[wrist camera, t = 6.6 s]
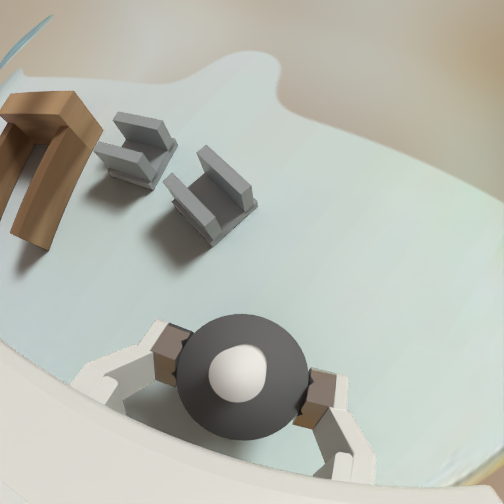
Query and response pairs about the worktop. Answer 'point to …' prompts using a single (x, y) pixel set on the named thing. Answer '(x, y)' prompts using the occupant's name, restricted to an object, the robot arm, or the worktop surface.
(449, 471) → the worktop surface
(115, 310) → the worktop surface
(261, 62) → the worktop surface
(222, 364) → the plug
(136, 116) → the clip
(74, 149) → the frame
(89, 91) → the worktop surface
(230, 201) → the clip
